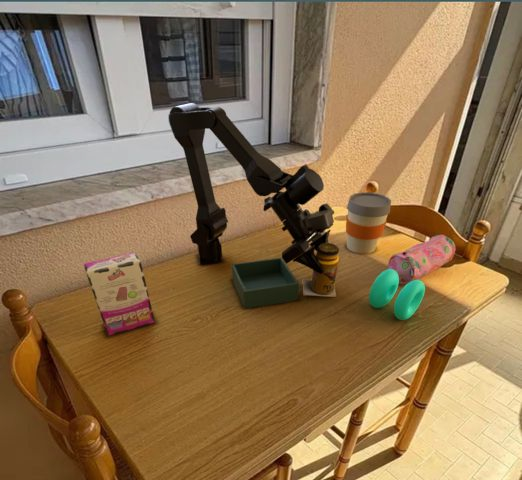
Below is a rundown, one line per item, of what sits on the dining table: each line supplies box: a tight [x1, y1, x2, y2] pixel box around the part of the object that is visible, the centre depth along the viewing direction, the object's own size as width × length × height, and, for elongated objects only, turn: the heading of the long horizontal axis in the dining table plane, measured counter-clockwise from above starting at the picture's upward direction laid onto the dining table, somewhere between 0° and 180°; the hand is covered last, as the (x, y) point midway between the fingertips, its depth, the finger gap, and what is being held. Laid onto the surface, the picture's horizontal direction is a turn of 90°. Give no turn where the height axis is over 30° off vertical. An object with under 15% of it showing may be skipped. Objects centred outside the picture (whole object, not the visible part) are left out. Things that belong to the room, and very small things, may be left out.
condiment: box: [302, 242, 340, 298], centre depth 97 cm, size 7×8×12 cm
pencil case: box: [387, 234, 456, 285], centre depth 106 cm, size 21×9×9 cm, turn 127°
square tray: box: [230, 257, 300, 309], centre depth 100 cm, size 14×14×5 cm
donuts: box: [368, 268, 426, 321], centre depth 92 cm, size 10×10×10 cm
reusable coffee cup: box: [345, 192, 392, 255], centre depth 116 cm, size 13×13×15 cm
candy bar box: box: [83, 252, 156, 336], centre depth 85 cm, size 11×5×16 cm, turn 118°
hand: (327, 267), depth 96 cm, fingers closed on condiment, 6 cm apart
